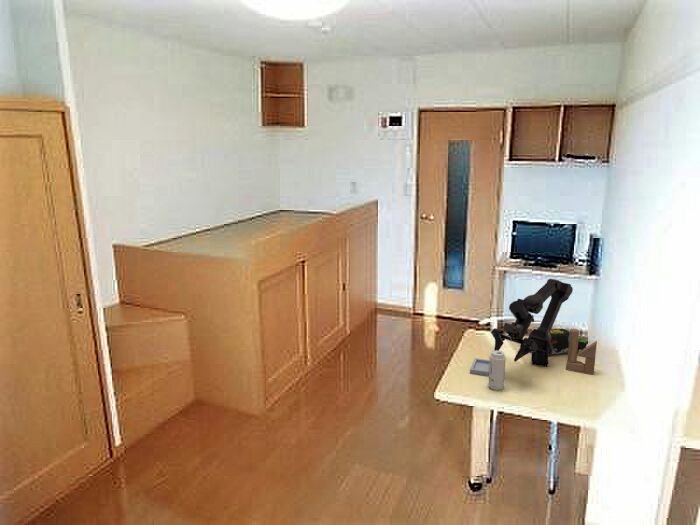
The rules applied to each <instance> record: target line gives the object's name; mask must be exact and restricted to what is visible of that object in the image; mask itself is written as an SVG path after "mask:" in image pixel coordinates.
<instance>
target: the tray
mask: <svg viewBox="0 0 700 525" xmlns="http://www.w3.org/2000/svg"><path fill="white" fill-rule="evenodd" d="M489 363H490V359H483V358H477V357H475V358H474V360H473V362H472V364H471V366H470V369H469V374H470V375H477V376H484V377H489Z"/></svg>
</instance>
